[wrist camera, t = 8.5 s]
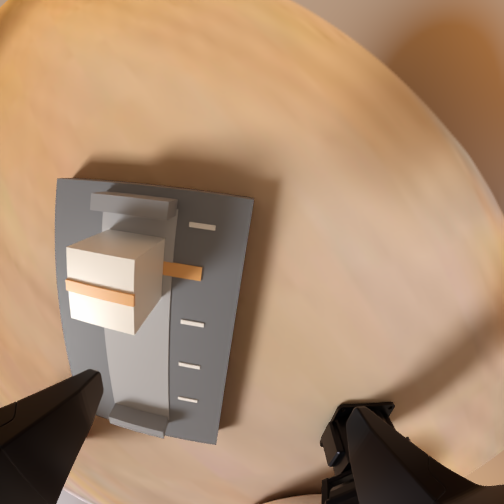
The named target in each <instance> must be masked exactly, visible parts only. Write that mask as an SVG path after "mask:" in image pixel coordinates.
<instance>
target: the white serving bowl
mask: <svg viewBox="0 0 504 504" xmlns="http://www.w3.org/2000/svg"><path fill="white" fill-rule="evenodd" d="M321 496H322V494H310V495H301V496H294V497H288V498H283V499H278V500H274V501H270V502H266V503H263V504H321Z"/></svg>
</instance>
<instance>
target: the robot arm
mask: <svg viewBox="0 0 504 504" xmlns="http://www.w3.org/2000/svg"><path fill="white" fill-rule="evenodd" d="M103 392H104V388H103V382H102V377H101V373H100V372H99V371H97V370H94V369H87V370H85V371H83V372H81V373H79V374H77V375H74V376H72V377H70V378H68V379H66V380H64V381H61V382H59V383H57V384H55V385H53V386H50V387H48V388H46V389H44V390H41V391H39V392H37V393H35V394H32V395H30V396H28V397H26V398H23V399H21V400H19V401H17V402H14V403H12V404H9V405H7V406H4V407H2V408H0V504H56V503H57V500H58V498H59V496H60V493H61V491H62V489H63V486H64V484H65V482H66V479H67V477H68V475H69V473H70V470H71V468H72V466H73V464H74V462H75V460H76V457H77V455H78V453H79V451H80V449H81V447H82V445H83V443H84V441H85V438H86V436H87V434H88V432H89V430H90V428H91V426H92V423H93V421H94V418H95V415H96V412H97V409H98V406H99V404H100V401H101V398H102V395H103ZM394 407H395V405H394V403H393V402H385V403H370V404H343V405H340V406H338V407H337V409H336V411H335V413H334V415H333V417H332V419H331V421H330V422H329V423H328V425H327V427H326V429H325V431H324V433H323V435H322V437H321V441H320V446H321V447H324V451H325V455H326V459H327V463H328V466H329V467H333V469H334V473H335V476H334V477H331V478H327V479H324V480H322V496H321V504H504V485H496V486H481V485H477V484H475V483H473V482H471V481H469V480H467V479H466V478H464V477H462V476H460V475H458V474H456V473H455V472H453V471H451V470H450V469H448V468H446V467H445V466H443V465H442V464H440V463H439V462H437V461H436V460H435V459H433V458H432V457H430V456H428V454H426V453H425V452H424V451H422V450H421V449H420V448H418V447H417V446H416V445H414V444H413V443H412V442H411V441H410V439H409V437H406V438H405V437H404V436H402V435H401V434H400V433H399V432H397V431H396V430H395V428H394V426H393V424H392V422H391V420H390V418H389V416H390V414H391V412H392V411H393V409H394Z"/></svg>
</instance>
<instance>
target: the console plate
mask: <svg viewBox="0 0 504 504" xmlns="http://www.w3.org/2000/svg"><path fill="white" fill-rule="evenodd" d="M253 203H254V198H250V197H244V196H237V195H231V194H224V193H217V192H210V191H202V190H195V189H187V188H179V187H170V186H161V185H152V184H142V183H132V182H121V181H110V180H97V179H83V178H59V179H57V189H56V206H55V260H56V277H57V289H58V299H59V307H60V315H61V322H62V328H63V334H64V340H65V345H66V350H67V355H68V360H69V364H70V369H71V373H72V376H74V375H77V374H79V373H81V372H83V371H85V370H87V369H94V370H97V371H99V372H100V373H101V377H102V382H103V388H104V392H103V395H102V398H101V401H100V404H99V406H98V409H97V412H96V415H97V416H100V417H103V418H106V419H109V421H110V423H111V424H114V425H117V426H120V427H123V428H126V429H130V430H133V431H136V432H140V433H144V434H147V435H151V436H155V437H159V438H164V436H165V435H166V436H170V437H175V438H179V439H184V440H190V441H195V442H201V443H207V444H214V445H216V442H217V435H218V428H219V422H220V415H221V408H222V402H223V395H224V388H225V382H226V375H227V368H228V362H229V355H230V349H231V342H232V336H233V329H234V323H235V316H236V310H237V304H238V297H239V291H240V284H241V278H242V272H243V265H244V259H245V253H246V246H247V240H248V234H249V228H250V222H251V215H252V209H253ZM109 229H110V230H117V231H123V232H130V233H136V234H143V235H149V236H156V237H163V238H165V248H164V261H163V276H162V296H161V299H160V300H159V301H158V303H157V304H156V306H155V307H154V308H153V310H152V311H151V313H150V314H149V315H148V317H147V318H146V320H145V321H144V322H143V324H142V325H141V327H140V328H139V330H138V331H137V332H136V334H135V335H131V334H127V333H123V332H119V331H116V330H112V329H108V328H104V327H101V326H97V325H94V324H90V323H87V322H84V321H80V320H77V319H74V318H71V312H70V303H69V292H68V291H67V290H66V283H65V279H67V257H66V247H67V246H70V245H72V244H74V243H77V242H79V241H82V240H84V239H86V238H89V237H91V236H94V235H96V234H99V233H101V232H104V231H106V230H109Z"/></svg>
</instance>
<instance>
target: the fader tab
mask: <svg viewBox="0 0 504 504" xmlns="http://www.w3.org/2000/svg"><path fill="white" fill-rule="evenodd" d="M164 248H165V238H163V237H156V236H149V235H143V234H136V233H130V232H123V231H117V230H110V229H109V230H106V231H104V232H101V233H99V234H96V235H94V236H91V237H89V238H86V239H84V240H82V241H79V242H77V243H74V244H72V245H70V246H67V247H66V257H67V279H65V283H66V290H67V291H68V292H69V303H70V312H71V318H74V319H77V320H80V321H84V322H87V323H90V324H94V325H97V326H101V327H104V328H108V329H112V330H116V331H119V332H123V333H127V334H131V335H135V334H136V332H137V331H138V330H139V328H140V327H141V325H142V324H143V322H144V321H145V320H146V318H147V317H148V315H149V314H150V313H151V311H152V310H153V308H154V307H155V306H156V304H157V303H158V301H159V300H160V299H161V296H162V276H163V261H164Z"/></svg>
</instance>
